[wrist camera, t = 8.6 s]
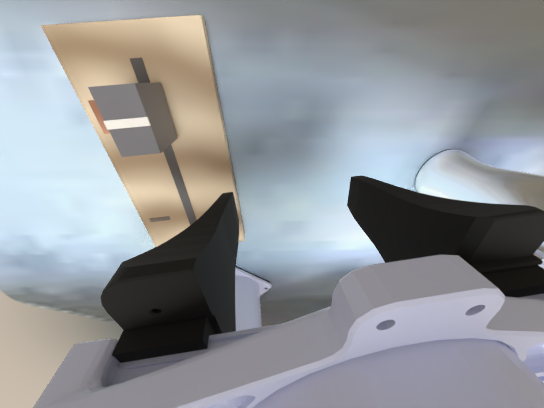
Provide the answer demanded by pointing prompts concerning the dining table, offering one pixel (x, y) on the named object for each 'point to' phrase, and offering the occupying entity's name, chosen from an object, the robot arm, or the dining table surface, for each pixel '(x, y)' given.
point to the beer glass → (479, 183)
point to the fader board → (181, 103)
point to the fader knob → (136, 117)
